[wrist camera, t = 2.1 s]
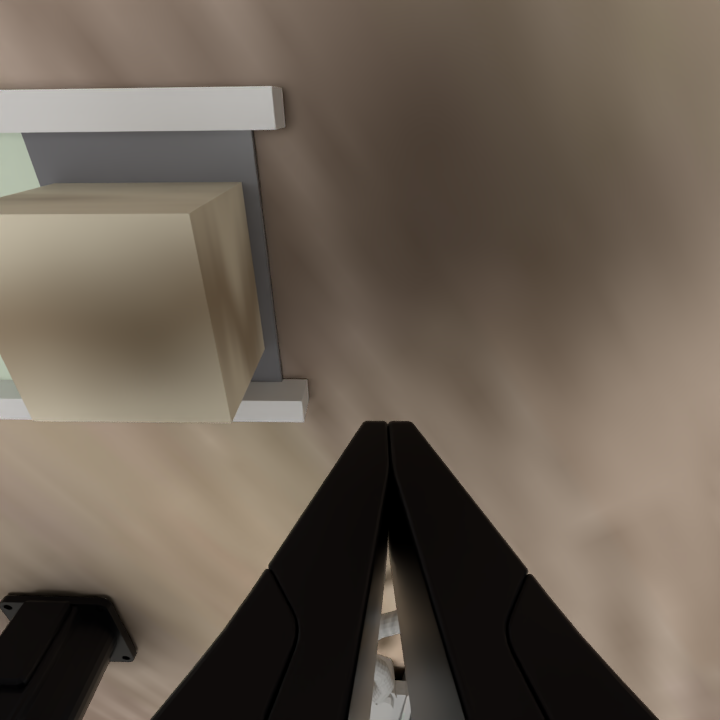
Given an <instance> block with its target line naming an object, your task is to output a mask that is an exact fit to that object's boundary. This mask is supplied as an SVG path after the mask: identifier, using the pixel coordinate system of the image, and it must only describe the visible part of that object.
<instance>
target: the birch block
mask: <svg viewBox="0 0 720 720" xmlns="http://www.w3.org/2000/svg"><path fill="white" fill-rule="evenodd" d="M264 350H265V347H264V340H263V333H262V325H261V318H260V311H259V304H258V297H257V289H256V282H255V275H254V268H253V261H252V254H251V246H250V239H249V232H248V225H247V218H246V210H245V203H244V196H243V189H242V182H165V183H54V184H50V185H46V186H42V187H38V188H34V189H30V190H26V191H22V192H19V193H15V194H11V195H7V196H3V197H0V355H1V357H2V359H3V361H4V363H5V365H6V367H7V369H8V371H9V373H10V376H11V378H12V380H13V382H14V384H15V386H16V388H17V390H18V392H19V394H20V396H21V398H22V400H23V402H24V404H25V406H26V408H27V410H28V412H29V414H30V416H31V418H32V420H33V421H54V422H151V423H232V421H233V419H234V417H235V415H236V413H237V410H238V408H239V406H240V404H241V401H242V399H243V397H244V395H245V392H246V390H247V388H248V386H249V383H250V381H251V379H252V377H253V374H254V372H255V370H256V368H257V365H258V363H259V361H260V359H261V356H262V354H263V352H264Z"/></svg>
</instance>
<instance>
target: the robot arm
mask: <svg viewBox="0 0 720 720" xmlns="http://www.w3.org/2000/svg"><path fill="white" fill-rule="evenodd" d="M388 546H389V557H390V565H391V572H392V579H393V586H394V594H395V601H396V608H397V615H398V622H399V629H400V636H401V643H402V650H403V657H404V665H405V672H406V679H407V686H408V693H409V700H410V707H411V714H412V720H659V719H658V718H657V717H656V716H655V715H654V714H653V713H652V711H651V710H650V709H649V708H648V707H647V706H646V705H645V704H644V703H643V702H642V701H641V700H640V699H639V698H638V697H637V696H636V694H635V693H634V692H633V691H632V690H631V689H630V688H629V687H628V686H627V685H626V684H625V683H624V682H623V681H622V680H621V678H620V677H619V676H618V675H617V674H616V673H615V672H614V671H613V670H612V669H611V667H610V666H609V665H608V664H607V663H606V662H605V661H604V660H603V659H602V658H601V656H600V655H599V654H598V653H597V652H596V651H595V650H594V649H593V648H592V647H591V645H590V644H589V643H588V642H587V641H586V640H585V639H584V638H583V637H582V635H581V634H580V633H579V632H578V631H577V629H576V628H575V627H574V626H573V625H572V623H571V622H570V621H569V620H568V619H567V617H566V616H565V615H564V614H563V612H562V611H561V610H560V609H559V608H558V606H557V605H556V604H555V603H554V602H553V600H552V599H551V598H550V597H549V595H548V594H547V593H546V592H545V590H544V589H543V588H542V586H541V585H540V584H539V583H538V581H537V580H536V579H535V577H534V576H533V575H532V574H528V569H527V568H526V566H525V565H524V564H523V563H522V561H521V560H520V559H519V557H518V556H517V555H516V554H515V552H514V551H513V550H512V549H511V547H510V546H509V545H508V543H507V542H506V541H505V540H504V538H503V537H502V536H501V535H500V533H499V532H498V531H497V529H496V528H495V527H494V526H493V524H492V523H491V522H490V521H489V519H488V518H487V517H486V515H485V514H484V513H483V512H482V510H481V509H480V508H479V507H478V505H477V504H476V503H475V501H474V500H473V499H472V498H471V496H470V495H469V494H468V493H467V491H466V490H465V489H464V487H463V486H462V485H461V484H460V482H459V481H458V480H457V479H456V477H455V476H454V475H453V474H452V472H451V471H450V470H449V468H448V467H447V466H446V465H445V463H444V462H443V461H442V460H441V458H440V457H439V456H438V454H437V453H436V452H435V451H434V449H433V448H432V447H431V446H430V444H429V443H428V442H427V440H426V439H425V438H424V437H423V435H422V434H421V433H420V432H419V430H418V429H417V428H416V426H415V425H414V424H413V423H412V422H410V421H390V422H389V423H388V424H387V423H386V422H385V421H365V422H363V424H362V425H361V426H360V428H359V429H358V431H357V432H356V434H355V435H354V437H353V438H352V440H351V441H350V443H349V444H348V446H347V447H346V449H345V450H344V452H343V453H342V455H341V456H340V458H339V459H338V461H337V462H336V464H335V466H334V467H333V469H332V470H331V472H330V473H329V475H328V476H327V478H326V479H325V481H324V482H323V484H322V485H321V487H320V488H319V490H318V491H317V493H316V494H315V496H314V497H313V499H312V500H311V502H310V503H309V505H308V506H307V508H306V509H305V511H304V512H303V514H302V515H301V517H300V518H299V520H298V521H297V523H296V524H295V526H294V527H293V529H292V530H291V532H290V533H289V535H288V536H287V538H286V539H285V541H284V542H283V544H282V545H281V547H280V548H279V550H278V551H277V553H276V554H275V556H274V557H273V559H272V560H271V562H270V563H269V565H268V567H269V569H266V570H264V572H263V573H262V575H261V576H260V578H259V579H258V581H257V582H256V584H255V585H254V587H253V588H252V590H251V591H250V593H249V594H248V596H247V597H246V599H245V600H244V601H243V603H242V604H241V606H240V607H239V608H238V610H237V611H236V613H235V614H234V616H233V617H232V618H231V620H230V621H229V623H228V624H227V625H226V627H225V628H224V630H223V631H222V632H221V633H220V635H219V636H218V637H217V638H216V640H215V641H214V642H213V643H212V645H211V646H210V647H209V648H208V650H207V651H206V652H205V654H204V655H203V656H202V657H201V659H200V660H199V661H198V662H197V664H196V665H195V666H194V667H193V669H192V670H191V671H190V672H189V674H188V675H187V676H186V677H185V678H184V680H183V681H182V682H181V683H180V684H179V686H178V687H177V688H176V689H175V690H174V692H173V693H172V694H171V695H170V697H169V698H168V699H167V700H166V701H165V703H164V704H163V705H162V706H161V707H160V709H159V710H158V711H157V712H156V713H155V715H154V716H153V717H152V718H151V719H150V720H370V713H371V703H372V694H373V685H374V675H375V666H376V656H377V647H378V638H379V628H380V619H381V609H382V600H383V591H384V581H385V572H386V562H387V549H388ZM527 574H528V575H527ZM0 608H1V610H2V611H3V612H4V614H5V615H6V616H7V618H8V619H9V620H10V622H9V624H8V625H7V626H6V628H5V629H4V631H3V632H2V634H1V635H0V720H82V719H83V717H84V714H85V712H86V710H87V708H88V706H89V704H90V702H91V700H92V698H93V696H94V693H95V691H96V689H97V687H98V685H99V683H100V681H101V679H102V677H103V674H104V672H105V670H106V668H107V666H108V664H109V662H110V661H112V662H132V661H133V660H134V658H135V656H136V654H137V651H136V649H135V647H134V646H133V644H132V642H131V640H130V638H129V636H128V634H127V632H126V630H125V628H124V626H123V624H122V622H121V620H120V618H119V616H118V615H117V613H116V611H115V609H114V607H113V605H112V603H111V602H110V601H109V600H107V599H105V598H87V597H44V596H5V597H4V598H3V600H2V601H1V602H0Z"/></svg>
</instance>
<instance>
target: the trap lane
mask: <svg viewBox="0 0 720 720" xmlns="http://www.w3.org/2000/svg"><path fill="white" fill-rule="evenodd" d="M284 127H285V115H284V104H283V92H282V88H281V87H274V86H242V87H171V88H101V89H30V90H0V197H3V196H7V195H11V194H15V193H19V192H22V191H26V190H30V189H34V188H38V187H42V186H46V185H50V184H54V183H165V182H242V189H243V196H244V203H245V210H246V218H247V225H248V232H249V239H250V246H251V254H252V261H253V268H254V275H255V282H256V289H257V297H258V304H259V311H260V318H261V325H262V333H263V340H264V347H265V350H264V352H263V354H262V356H261V359H260V361H259V363H258V365H257V368H256V370H255V372H254V374H253V377H252V379H251V381H250V383H249V386H248V388H247V390H246V392H245V395H244V397H243V399H242V401H241V404H240V406H239V408H238V410H237V413H236V415H235V417H234V419H233V421H232V422H304V420H305V415H306V411H307V406H308V402H309V393H308V382H307V379H283V378H282V370H281V361H280V353H279V345H278V336H277V328H276V320H275V311H274V303H273V295H272V286H271V278H270V270H269V261H268V253H267V245H266V237H265V228H264V220H263V212H262V203H261V195H260V187H259V178H258V170H257V162H256V153H255V145H254V137H253V130H277V129H280V128H284ZM0 419H29V420H32V418H31V416H30V414H29V412H28V410H27V408H26V406H25V404H24V402H23V400H22V398H21V396H20V394H19V392H18V390H17V388H16V386H15V384H14V382H13V380H12V378H11V376H10V373H9V371H8V369H7V367H6V365H5V363H4V361H3V359H2V357H1V355H0Z"/></svg>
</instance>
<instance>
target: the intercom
mask: <svg viewBox="0 0 720 720" xmlns="http://www.w3.org/2000/svg"><path fill="white" fill-rule="evenodd" d="M396 634H400V629H399V622H398V615H397V610H395V611H392V612H388V613H384V614H381V619H380V628H379V638H378V640H380V639H381V638H384V637H388V636H392V635H396ZM370 720H412V714H411V707H410V700H409V693H408V686H407V679H406V672H404V675H403V679H402V681H399V680H395V676H394V667H393V662H392V660H391V659H390V658H387V657H385V656H382V655H378V654H377V656H376V666H375V675H374V685H373V694H372V703H371V713H370Z"/></svg>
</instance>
